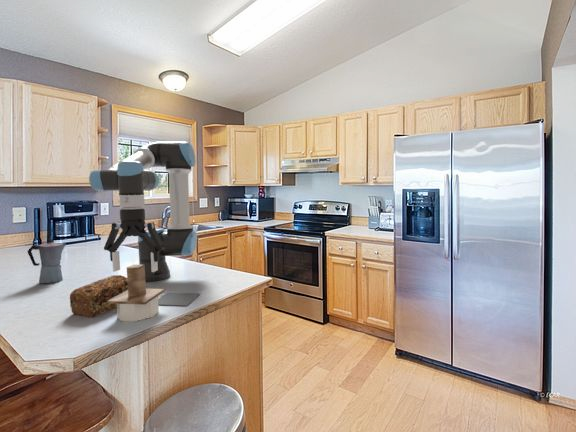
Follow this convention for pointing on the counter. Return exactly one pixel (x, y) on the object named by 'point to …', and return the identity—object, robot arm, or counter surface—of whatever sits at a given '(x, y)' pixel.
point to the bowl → (137, 310)
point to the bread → (97, 296)
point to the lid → (136, 288)
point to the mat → (177, 299)
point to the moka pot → (49, 261)
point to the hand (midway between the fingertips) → (135, 270)
